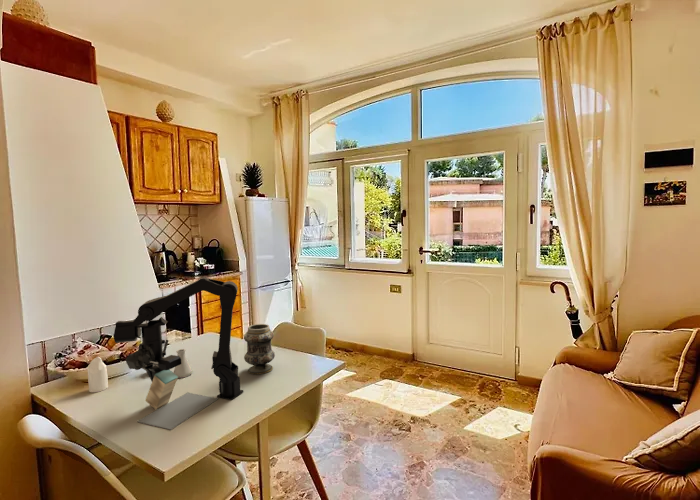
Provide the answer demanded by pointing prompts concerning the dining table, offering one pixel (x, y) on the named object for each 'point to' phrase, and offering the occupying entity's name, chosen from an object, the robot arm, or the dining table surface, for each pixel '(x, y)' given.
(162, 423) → the slate pad
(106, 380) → the white rounded block
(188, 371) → the flask
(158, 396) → the brown and teal block
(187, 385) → the dining table surface
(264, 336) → the apothecary jar
